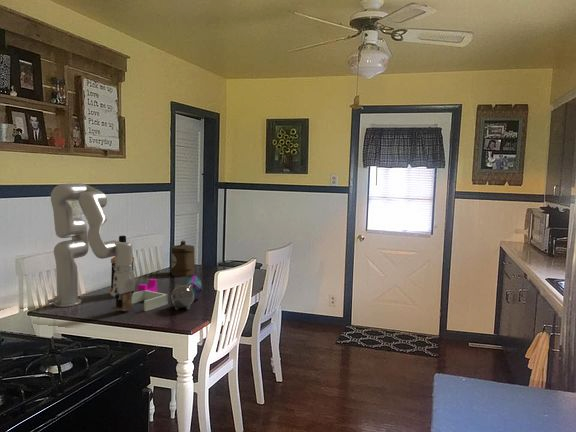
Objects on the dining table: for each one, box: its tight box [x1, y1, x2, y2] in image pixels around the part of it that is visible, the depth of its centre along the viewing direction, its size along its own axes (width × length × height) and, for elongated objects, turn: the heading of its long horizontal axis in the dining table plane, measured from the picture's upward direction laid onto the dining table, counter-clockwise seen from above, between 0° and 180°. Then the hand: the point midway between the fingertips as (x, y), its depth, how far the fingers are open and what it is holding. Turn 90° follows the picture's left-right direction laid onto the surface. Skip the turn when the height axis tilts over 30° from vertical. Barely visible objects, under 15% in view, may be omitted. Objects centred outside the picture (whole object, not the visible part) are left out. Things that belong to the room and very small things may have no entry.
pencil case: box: [185, 274, 203, 301], centre depth 262 cm, size 21×9×10 cm, turn 9°
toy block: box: [137, 278, 159, 293], centre depth 259 cm, size 15×6×8 cm, turn 171°
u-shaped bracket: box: [132, 290, 169, 312], centre depth 242 cm, size 15×16×5 cm
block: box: [115, 292, 133, 312], centre depth 230 cm, size 5×5×8 cm
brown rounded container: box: [170, 240, 196, 277], centre depth 315 cm, size 15×15×22 cm
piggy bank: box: [170, 283, 195, 311], centre depth 239 cm, size 11×15×12 cm
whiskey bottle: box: [109, 235, 136, 297], centre depth 260 cm, size 10×10×32 cm
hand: (123, 305), depth 231 cm, fingers closed on block, 5 cm apart
